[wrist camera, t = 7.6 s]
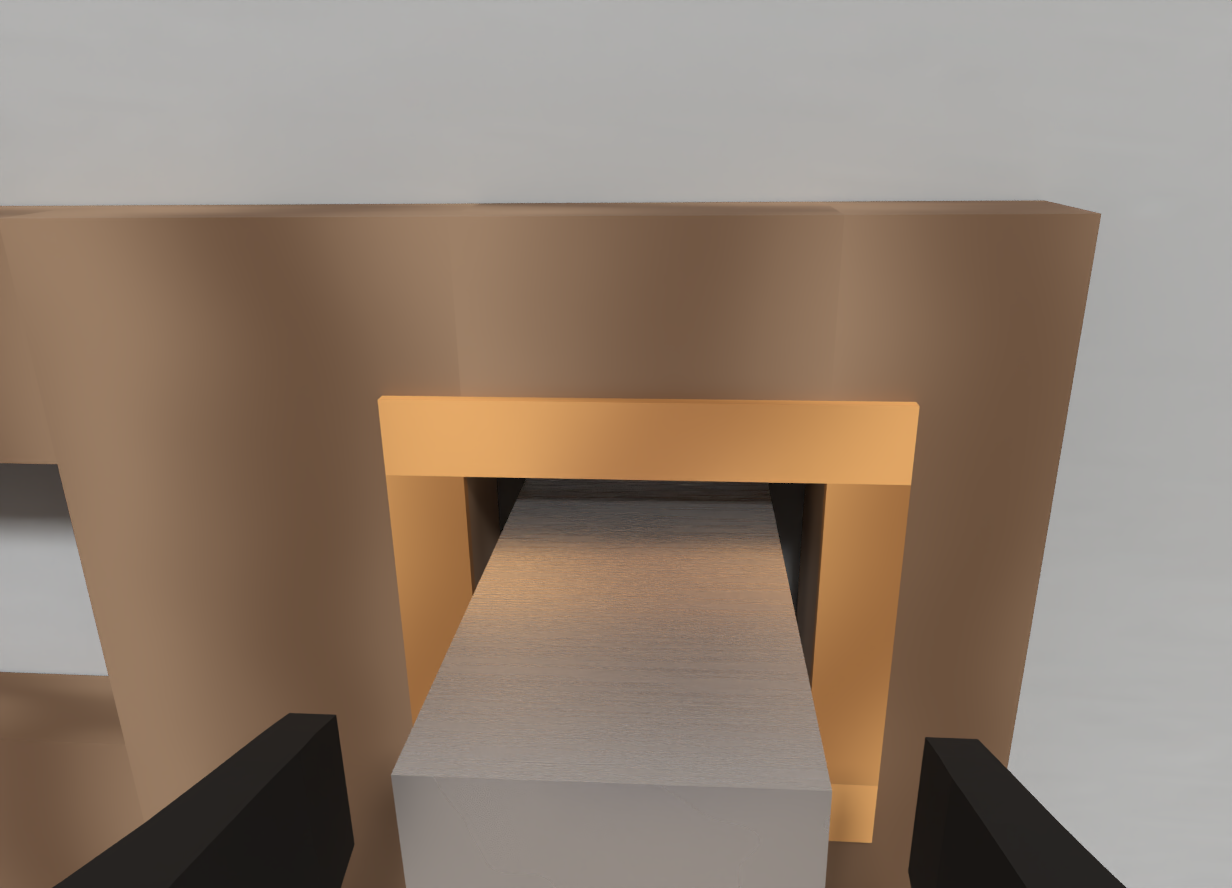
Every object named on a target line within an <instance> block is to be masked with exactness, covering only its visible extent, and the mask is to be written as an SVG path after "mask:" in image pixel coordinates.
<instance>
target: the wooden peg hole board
mask: <svg viewBox="0 0 1232 888" xmlns="http://www.w3.org/2000/svg"><path fill="white" fill-rule="evenodd" d="M1100 218H1101V214H1100V213H1096V212H1091V211H1087V210H1083V209H1078V208H1074V207H1070V206H1066V205H1061V204H1057V203H1053V202H1048V201H870V202H683V203H496V204H310V205H123V206H0V463H18V464H57V465H58V469H59V473H60V477H61V482H62V486H63V490H64V494H65V498H66V502H67V506H68V510H69V515H70V519H71V523H72V527H73V531H74V535H75V539H76V543H77V547H78V552H79V556H80V560H81V564H82V568H83V572H84V576H85V580H86V585H87V589H88V593H89V597H90V601H91V605H92V609H93V613H94V617H95V622H96V626H97V630H98V634H99V638H100V642H101V646H102V650H103V655H104V659H105V663H106V667H107V671H108V675H109V676H90V675H63V674H37V673H11V672H0V888H52V887H54V886H55V885H57V884H58V883H60V882H61V881H63V880H64V879H65V878H67V877H68V876H70V875H71V874H73V873H74V872H75V871H77V870H78V869H80V868H81V867H83V866H84V865H85V864H87V863H88V862H90V861H91V860H92V859H94V858H95V857H97V856H98V855H100V854H101V853H102V852H104V851H105V850H107V849H108V848H110V847H111V846H112V845H114V844H115V843H117V842H118V841H119V840H121V839H122V838H124V837H125V836H127V835H128V834H129V833H131V832H132V831H134V830H135V829H136V828H138V827H139V826H141V825H142V824H144V823H145V822H146V821H148V820H149V819H150V818H152V817H153V816H154V815H156V814H157V813H158V812H160V811H161V810H162V809H163V808H165V807H166V806H167V805H169V804H170V803H171V802H173V801H174V800H175V799H177V798H178V797H179V796H181V795H182V794H183V793H184V792H186V791H187V790H188V789H190V788H191V787H192V786H194V785H195V784H196V783H198V782H199V781H200V780H202V779H203V778H204V777H205V776H207V775H208V774H209V773H211V772H212V771H213V770H215V769H216V768H217V767H218V766H220V765H221V764H222V763H224V762H225V761H226V760H227V759H229V758H230V757H231V756H233V755H234V754H235V753H236V752H238V751H239V750H240V749H241V748H243V747H244V746H245V745H247V744H248V743H249V742H251V741H252V740H253V739H254V738H256V737H257V736H258V735H260V734H261V733H262V732H264V731H265V730H266V729H268V728H269V727H270V726H272V725H273V724H274V723H276V722H277V721H278V720H280V719H281V718H283V717H284V716H286V715H287V714H288V713H307V714H333V715H336V716H337V723H338V730H339V737H340V744H341V752H342V759H343V766H344V773H345V780H346V787H347V794H348V801H349V808H350V815H351V822H352V829H353V836H354V843H355V845H354V848H353V851H352V854H351V857H350V860H349V864H348V867H347V870H346V873H345V876H344V880H343V883H342V886H341V888H406V883H405V876H404V868H403V861H402V853H401V846H400V839H399V831H398V824H397V816H396V809H395V802H394V794H393V787H392V779H391V774H392V772H393V769H394V767H395V765H396V763H397V761H398V758H399V756H400V754H401V752H402V750H403V747H404V745H405V743H406V741H407V739H408V736H409V734H410V732H411V730H412V728H413V726H414V723H415V721H416V719H417V717H418V715H419V712H420V710H421V708H422V706H423V704H424V701H425V699H426V697H427V695H428V693H429V691H430V688H431V686H432V684H433V682H434V680H435V677H436V675H437V673H438V671H439V669H440V666H441V664H442V662H443V660H444V658H445V655H446V653H447V651H448V649H449V647H450V645H451V642H452V640H453V638H454V636H455V634H456V631H457V629H458V627H459V625H460V623H461V620H462V618H463V616H464V614H465V612H466V609H467V607H468V605H469V603H470V601H471V599H472V596H473V594H474V592H475V590H476V588H477V585H478V583H479V581H480V579H481V577H482V574H483V572H484V570H485V568H486V566H487V564H488V561H489V559H490V557H491V555H492V553H493V550H494V548H495V546H496V544H497V542H498V539H499V537H500V524H499V508H498V491H497V477H506V478H559V479H612V480H665V481H718V482H771V483H805V493H804V508H803V523H802V539H801V554H800V569H799V584H798V600H797V615H796V621H797V625H798V630H799V635H800V640H801V645H802V649H803V654H804V659H805V664H806V668H807V673H808V678H809V683H810V688H811V692H812V697H813V702H814V707H815V711H816V716H817V721H818V726H819V731H820V735H821V740H822V745H823V750H824V754H825V759H826V764H827V769H828V774H829V778H830V783H831V788H832V800H831V814H830V827H829V841H828V854H827V868H826V881H825V888H911V884H910V879H909V874H908V867H909V859H910V851H911V843H912V836H913V828H914V820H915V812H916V805H917V797H918V789H919V781H920V773H921V766H922V758H923V750H924V742H925V737H939V738H965V739H978V740H979V741H980V742H981V743H982V744H983V745H984V746H985V747H986V748H987V749H988V750H989V751H990V752H991V753H992V754H993V755H994V756H995V757H996V758H997V759H998V760H999V761H1000V762H1001V763H1002V764H1003V765H1004V766H1005V767H1006V768H1007V766H1008V760H1009V755H1010V749H1011V743H1012V737H1013V731H1014V725H1015V719H1016V713H1017V707H1018V701H1019V696H1020V690H1021V684H1022V678H1023V672H1024V666H1025V660H1026V654H1027V648H1028V642H1029V637H1030V631H1031V625H1032V619H1033V613H1034V607H1035V601H1036V595H1037V589H1038V583H1039V578H1040V572H1041V566H1042V560H1043V554H1044V548H1045V542H1046V536H1047V530H1048V524H1049V519H1050V513H1051V507H1052V501H1053V495H1054V489H1055V483H1056V477H1057V471H1058V465H1059V460H1060V454H1061V448H1062V442H1063V436H1064V430H1065V424H1066V418H1067V412H1068V406H1069V401H1070V395H1071V389H1072V383H1073V377H1074V371H1075V365H1076V359H1077V353H1078V347H1079V342H1080V336H1081V330H1082V324H1083V318H1084V312H1085V306H1086V300H1087V294H1088V288H1089V283H1090V277H1091V271H1092V265H1093V259H1094V253H1095V247H1096V241H1097V235H1098V229H1099V224H1100Z"/></svg>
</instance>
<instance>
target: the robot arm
mask: <svg viewBox="0 0 1232 888" xmlns="http://www.w3.org/2000/svg"><path fill="white" fill-rule="evenodd" d="M354 845H355V843H354V836H353V829H352V822H351V815H350V808H349V801H348V794H347V787H346V780H345V773H344V766H343V759H342V752H341V744H340V737H339V730H338V723H337V716H336V715H333V714H307V713H288V714H287V715H286V716H284V717H283V718H281V719H280V720H278V721H277V722H276V723H274V724H273V725H272V726H270V727H269V728H268V729H266V730H265V731H264V732H262V733H261V734H260V735H258V736H257V737H256V738H254V739H253V740H252V741H251V742H249V743H248V744H247V745H245V746H244V747H243V748H241V749H240V750H239V751H238V752H236V753H235V754H234V755H233V756H231V757H230V758H229V759H227V760H226V761H225V762H224V763H222V764H221V765H220V766H218V767H217V768H216V769H215V770H213V771H212V772H211V773H209V774H208V775H207V776H205V777H204V778H203V779H202V780H200V781H199V782H198V783H196V784H195V785H194V786H192V787H191V788H190V789H188V790H187V791H186V792H184V793H183V794H182V795H181V796H179V797H178V798H177V799H175V800H174V801H173V802H171V803H170V804H169V805H167V806H166V807H165V808H163V809H162V810H161V811H160V812H158V813H157V814H156V815H154V816H153V817H152V818H150V819H149V820H148V821H146V822H145V823H144V824H142V825H141V826H139V827H138V828H136V829H135V830H134V831H132V832H131V833H129V834H128V835H127V836H125V837H124V838H122V839H121V840H119V841H118V842H117V843H115V844H114V845H112V846H111V847H110V848H108V849H107V850H105V851H104V852H102V853H101V854H100V855H98V856H97V857H95V858H94V859H92V860H91V861H90V862H88V863H87V864H85V865H84V866H83V867H81V868H80V869H78V870H77V871H75V872H74V873H73V874H71V875H70V876H68V877H67V878H65V879H64V880H63V881H61V882H60V883H58V884H57V885H55V886H54V887H52V888H341V886H342V883H343V880H344V876H345V873H346V870H347V867H348V864H349V860H350V857H351V854H352V851H353V848H354ZM908 874H909V879H910V884H911V888H1126V887H1125V886H1124V885H1123V884H1122V883H1121V882H1120V881H1119V880H1118V879H1117V878H1115V877H1114V876H1113V875H1112V874H1111V873H1110V872H1109V871H1108V870H1107V869H1106V868H1105V867H1104V866H1103V865H1102V864H1101V863H1100V862H1099V861H1098V860H1097V859H1096V858H1095V857H1094V856H1093V855H1092V854H1091V853H1090V852H1088V851H1087V850H1086V849H1085V848H1084V847H1083V846H1082V845H1081V844H1080V843H1079V842H1078V841H1077V840H1076V839H1075V838H1074V837H1073V836H1072V835H1071V834H1070V833H1069V832H1068V831H1067V830H1066V829H1065V828H1064V827H1063V826H1062V825H1061V824H1060V823H1059V822H1058V821H1057V820H1056V819H1055V818H1054V817H1053V816H1052V815H1051V814H1050V813H1049V812H1048V811H1047V810H1046V809H1045V808H1044V807H1043V805H1042V804H1041V803H1040V802H1039V801H1038V800H1037V799H1036V798H1035V797H1034V796H1033V795H1032V794H1031V793H1030V792H1029V791H1028V790H1027V789H1026V788H1025V787H1024V786H1023V785H1022V784H1021V783H1020V782H1019V781H1018V780H1017V779H1016V778H1015V777H1014V776H1013V774H1012V773H1011V772H1010V771H1009V770H1008V769H1007V768H1006V767H1005V766H1004V765H1003V764H1002V763H1001V762H1000V761H999V760H998V759H997V758H996V757H995V756H994V755H993V754H992V753H991V752H990V751H989V750H988V749H987V748H986V747H985V746H984V745H983V744H982V743H981V742H980V741H979V740H978V739H965V738H939V737H925V742H924V750H923V758H922V766H921V773H920V781H919V789H918V797H917V805H916V812H915V820H914V828H913V836H912V843H911V851H910V859H909V867H908Z"/></svg>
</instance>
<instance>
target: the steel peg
mask: <svg viewBox="0 0 1232 888" xmlns="http://www.w3.org/2000/svg"><path fill="white" fill-rule="evenodd" d="M391 779H392V787H393V794H394V802H395V809H396V816H397V824H398V831H399V839H400V846H401V853H402V861H403V868H404V876H405V883H406V888H825V881H826V868H827V854H828V841H829V827H830V814H831V800H832V788H831V783H830V778H829V774H828V769H827V764H826V759H825V754H824V750H823V745H822V740H821V735H820V731H819V726H818V721H817V716H816V711H815V707H814V702H813V697H812V692H811V688H810V683H809V678H808V673H807V668H806V664H805V659H804V654H803V649H802V645H801V640H800V635H799V630H798V625H797V621H796V616H795V611H794V606H793V602H792V597H791V592H790V587H789V582H788V578H787V573H786V568H785V563H784V559H783V554H782V549H781V544H780V539H779V535H778V530H777V525H776V520H775V516H774V511H773V506H772V501H771V496H770V492H769V487H768V482H718V481H665V480H612V479H559V478H526V480H525V482H524V485H523V487H522V489H521V491H520V493H519V496H518V498H517V500H516V502H515V504H514V507H513V509H512V511H511V513H510V515H509V518H508V520H507V522H506V524H505V526H504V528H503V531H502V533H501V535H500V537H499V539H498V542H497V544H496V546H495V548H494V550H493V553H492V555H491V557H490V559H489V561H488V564H487V566H486V568H485V570H484V572H483V574H482V577H481V579H480V581H479V583H478V585H477V588H476V590H475V592H474V594H473V596H472V599H471V601H470V603H469V605H468V607H467V609H466V612H465V614H464V616H463V618H462V620H461V623H460V625H459V627H458V629H457V631H456V634H455V636H454V638H453V640H452V642H451V645H450V647H449V649H448V651H447V653H446V655H445V658H444V660H443V662H442V664H441V666H440V669H439V671H438V673H437V675H436V677H435V680H434V682H433V684H432V686H431V688H430V691H429V693H428V695H427V697H426V699H425V701H424V704H423V706H422V708H421V710H420V712H419V715H418V717H417V719H416V721H415V723H414V726H413V728H412V730H411V732H410V734H409V736H408V739H407V741H406V743H405V745H404V747H403V750H402V752H401V754H400V756H399V758H398V761H397V763H396V765H395V767H394V769H393V772H392V774H391Z"/></svg>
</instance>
